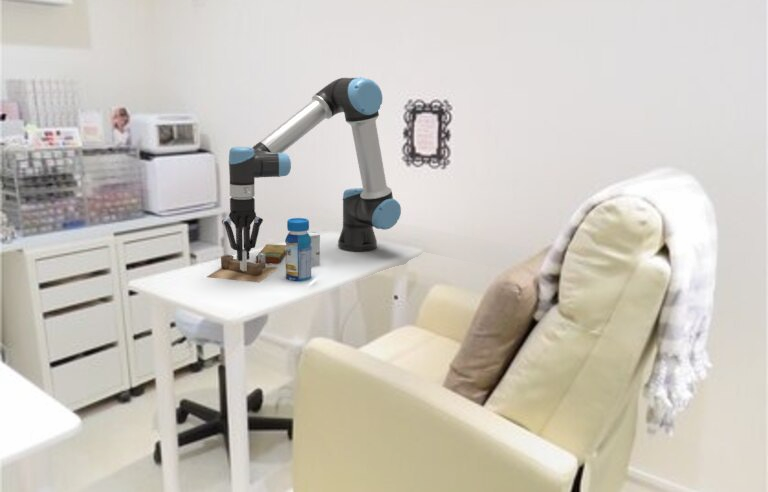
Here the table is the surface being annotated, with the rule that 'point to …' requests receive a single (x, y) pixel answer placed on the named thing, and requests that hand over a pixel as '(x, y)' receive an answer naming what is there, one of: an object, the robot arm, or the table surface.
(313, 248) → the skincare box
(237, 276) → the frame board
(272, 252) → the carton
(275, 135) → the robot arm
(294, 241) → the beverage bottle
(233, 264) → the leg bar
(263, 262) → the stop peg
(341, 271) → the table surface
